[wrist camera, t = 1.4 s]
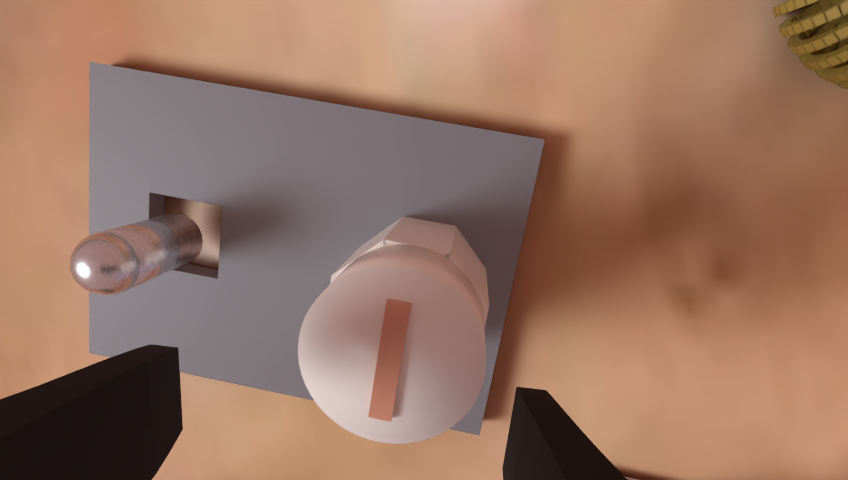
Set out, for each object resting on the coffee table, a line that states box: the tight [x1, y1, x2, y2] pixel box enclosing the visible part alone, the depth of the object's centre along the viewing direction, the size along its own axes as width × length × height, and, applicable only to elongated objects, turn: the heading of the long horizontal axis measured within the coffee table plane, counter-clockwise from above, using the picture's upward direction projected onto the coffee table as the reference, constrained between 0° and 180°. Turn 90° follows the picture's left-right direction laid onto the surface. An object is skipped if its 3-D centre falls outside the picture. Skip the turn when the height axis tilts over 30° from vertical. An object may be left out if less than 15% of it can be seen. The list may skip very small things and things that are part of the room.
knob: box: [298, 216, 489, 444], centre depth 15 cm, size 5×5×7 cm
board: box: [89, 62, 545, 435], centre depth 19 cm, size 17×12×1 cm
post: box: [70, 213, 203, 295], centre depth 16 cm, size 2×2×5 cm
